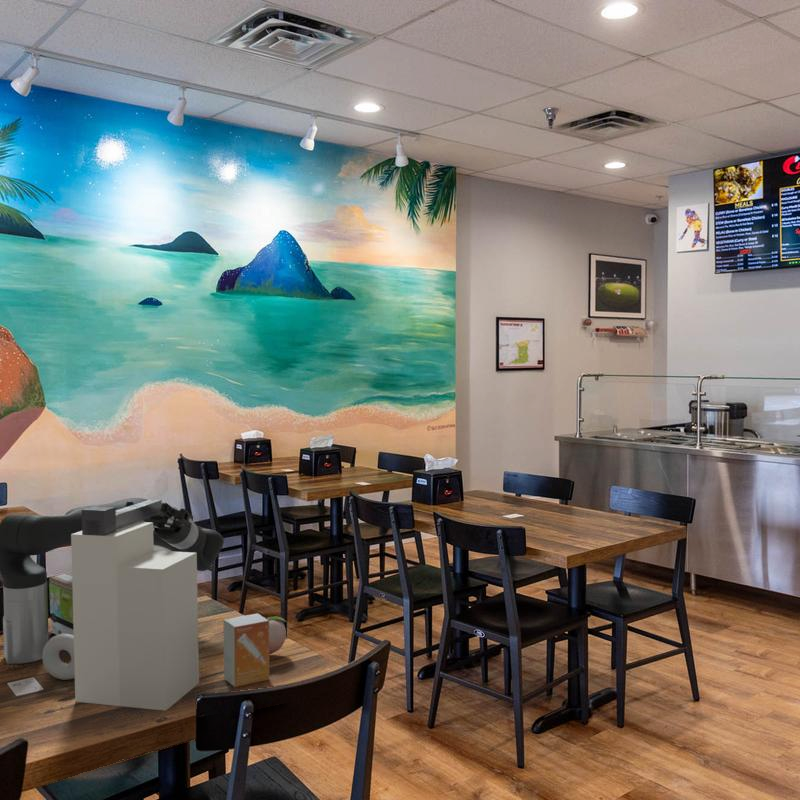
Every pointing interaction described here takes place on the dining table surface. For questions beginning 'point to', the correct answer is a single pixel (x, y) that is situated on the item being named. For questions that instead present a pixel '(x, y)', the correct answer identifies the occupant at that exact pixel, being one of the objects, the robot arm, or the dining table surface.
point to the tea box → (61, 604)
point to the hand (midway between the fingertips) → (144, 505)
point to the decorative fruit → (276, 633)
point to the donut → (52, 656)
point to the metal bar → (116, 517)
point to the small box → (246, 649)
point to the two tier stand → (133, 620)
